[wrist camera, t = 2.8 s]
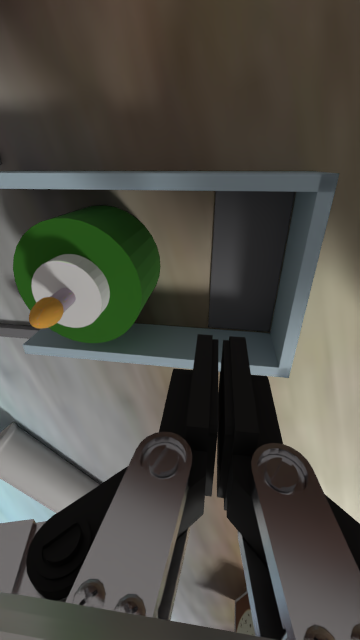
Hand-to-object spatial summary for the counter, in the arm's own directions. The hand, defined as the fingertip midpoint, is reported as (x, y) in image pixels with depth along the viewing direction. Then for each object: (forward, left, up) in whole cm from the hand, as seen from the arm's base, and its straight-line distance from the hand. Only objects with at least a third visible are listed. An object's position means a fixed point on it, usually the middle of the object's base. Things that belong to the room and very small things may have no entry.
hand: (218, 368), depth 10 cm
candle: (+9, 0, -13) cm, 15 cm away
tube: (+17, +31, -13) cm, 38 cm away
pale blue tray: (+5, 0, -12) cm, 13 cm away
